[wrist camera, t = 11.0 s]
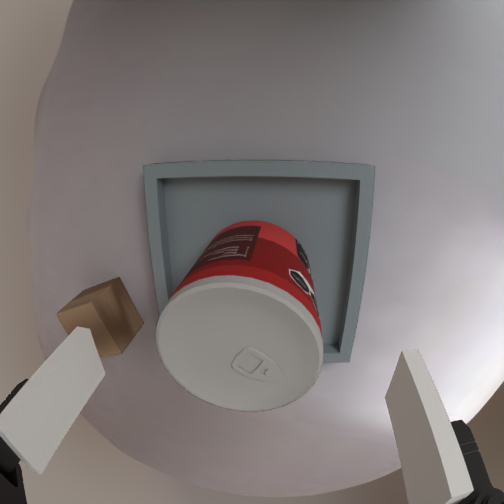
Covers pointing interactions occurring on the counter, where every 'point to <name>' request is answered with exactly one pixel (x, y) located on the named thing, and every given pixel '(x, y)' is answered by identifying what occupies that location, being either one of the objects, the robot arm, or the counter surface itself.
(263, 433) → the counter surface
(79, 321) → the walnut block
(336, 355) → the tray
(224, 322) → the canned food
